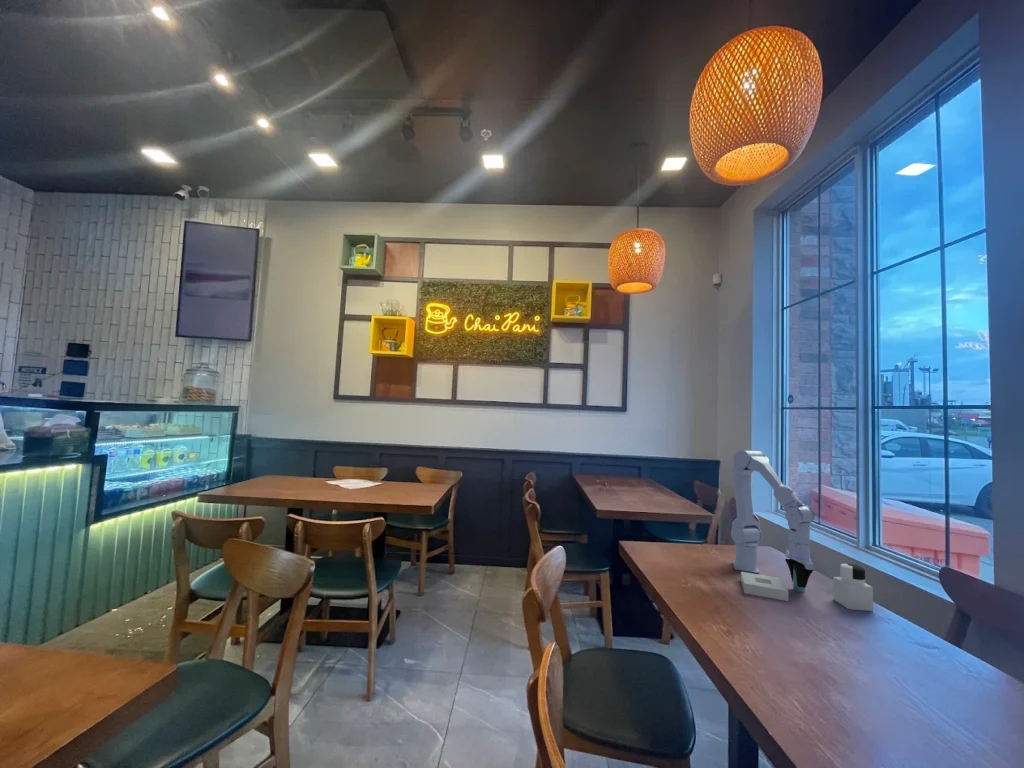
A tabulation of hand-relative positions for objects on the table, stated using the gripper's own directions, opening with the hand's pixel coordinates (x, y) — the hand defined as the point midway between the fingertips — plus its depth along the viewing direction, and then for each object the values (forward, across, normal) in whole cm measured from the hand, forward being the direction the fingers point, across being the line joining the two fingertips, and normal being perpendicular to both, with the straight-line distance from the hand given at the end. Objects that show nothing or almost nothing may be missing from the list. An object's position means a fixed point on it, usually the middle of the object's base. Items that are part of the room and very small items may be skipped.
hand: (799, 584), depth 142 cm
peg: (+2, 0, 0) cm, 2 cm away
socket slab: (+2, +3, -12) cm, 13 cm away
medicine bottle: (+2, +8, +12) cm, 14 cm away
